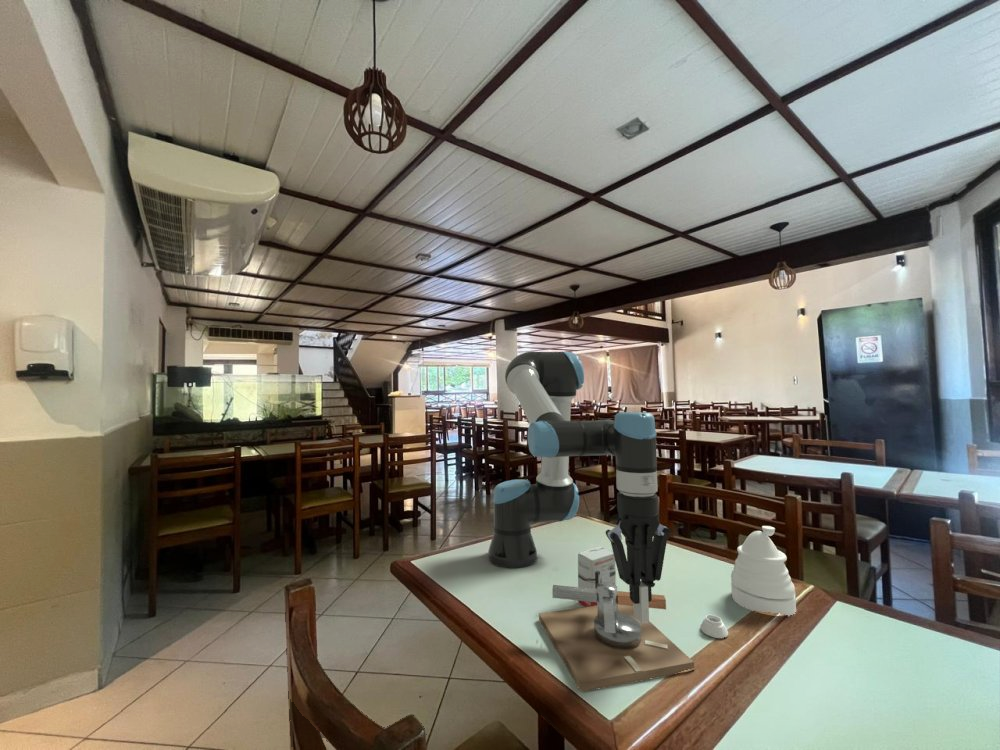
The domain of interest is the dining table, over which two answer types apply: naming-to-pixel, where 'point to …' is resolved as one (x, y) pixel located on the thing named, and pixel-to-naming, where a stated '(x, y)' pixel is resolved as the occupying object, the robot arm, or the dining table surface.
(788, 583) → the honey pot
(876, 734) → the dining table surface
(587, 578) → the ink box
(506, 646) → the dining table surface
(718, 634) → the white round hollow piece
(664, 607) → the capstan
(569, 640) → the board
